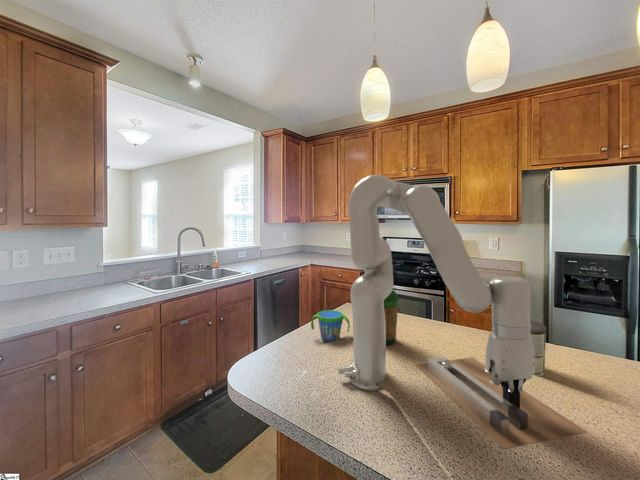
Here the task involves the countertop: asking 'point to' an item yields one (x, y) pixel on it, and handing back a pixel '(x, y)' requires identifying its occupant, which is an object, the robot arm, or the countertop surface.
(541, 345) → the coffee can
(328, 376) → the countertop surface
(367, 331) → the robot arm
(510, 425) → the walnut board
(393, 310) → the bottle
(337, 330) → the snack cup
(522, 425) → the tongs arm
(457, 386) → the tongs fixed arm
